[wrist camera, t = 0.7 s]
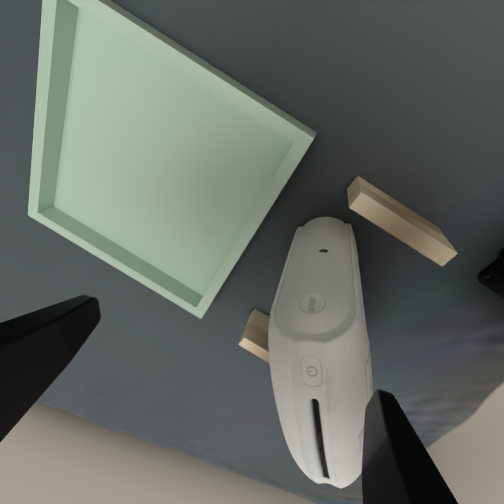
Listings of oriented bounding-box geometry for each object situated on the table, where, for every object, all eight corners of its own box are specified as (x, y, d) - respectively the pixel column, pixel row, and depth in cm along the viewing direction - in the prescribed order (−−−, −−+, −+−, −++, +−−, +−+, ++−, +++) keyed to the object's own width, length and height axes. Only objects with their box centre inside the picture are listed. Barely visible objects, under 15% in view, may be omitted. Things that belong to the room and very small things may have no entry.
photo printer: (290, 216, 20) (241, 351, 10) (356, 210, 19) (380, 359, 8) (306, 329, 25) (283, 505, 14) (360, 331, 23) (378, 526, 13)
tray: (316, 132, 17) (314, 138, 15) (212, 300, 26) (201, 318, 24) (82, -18, 17) (44, -34, 15) (54, 204, 25) (28, 215, 23)
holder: (438, 226, 18) (457, 253, 15) (307, 350, 26) (303, 383, 23) (357, 175, 18) (361, 192, 15) (249, 315, 25) (238, 344, 22)
